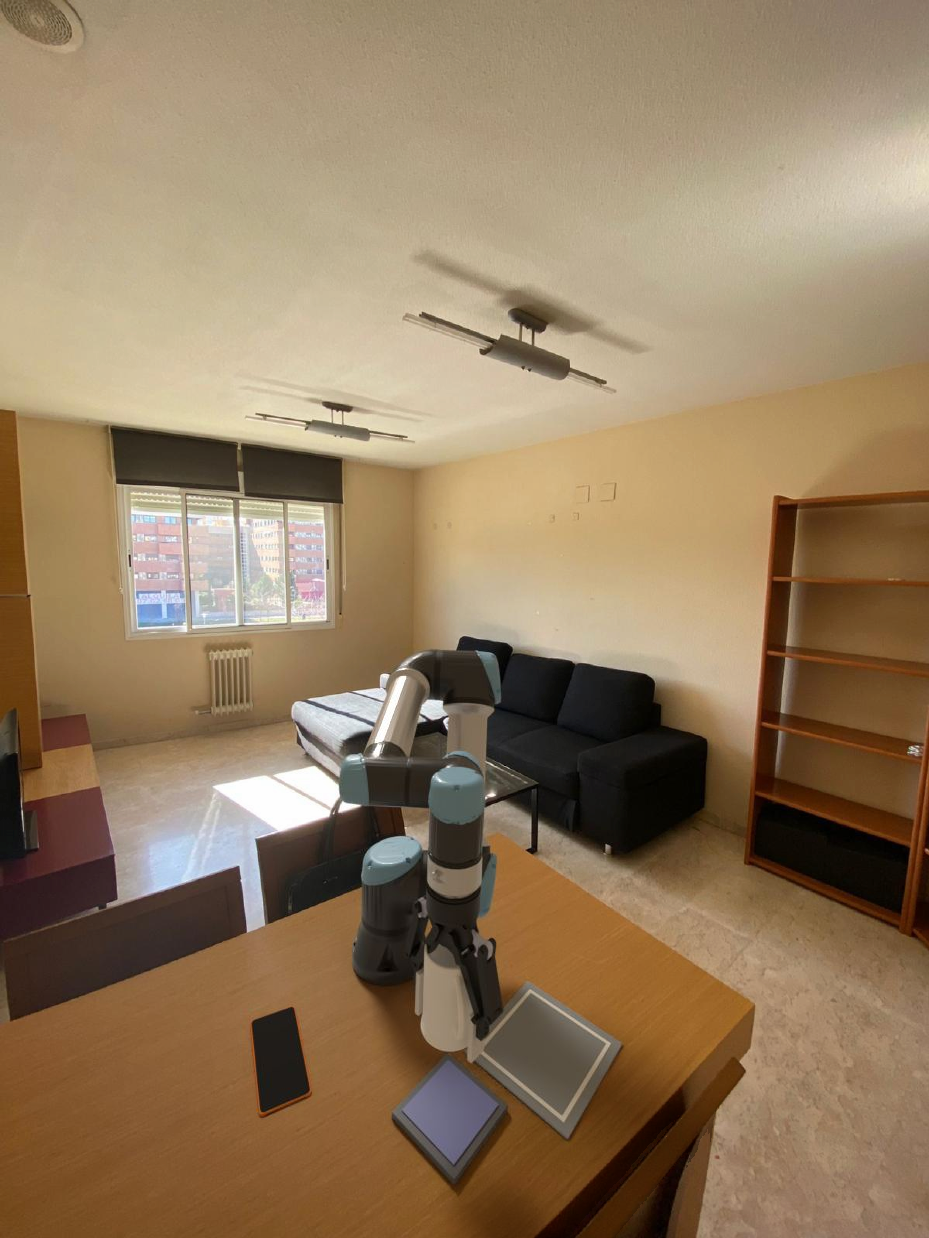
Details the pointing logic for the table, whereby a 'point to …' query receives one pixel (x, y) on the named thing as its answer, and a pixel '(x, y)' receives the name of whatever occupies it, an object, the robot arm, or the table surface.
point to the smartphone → (279, 1061)
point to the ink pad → (450, 1116)
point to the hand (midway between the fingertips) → (448, 1030)
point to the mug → (444, 1002)
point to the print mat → (547, 1056)
